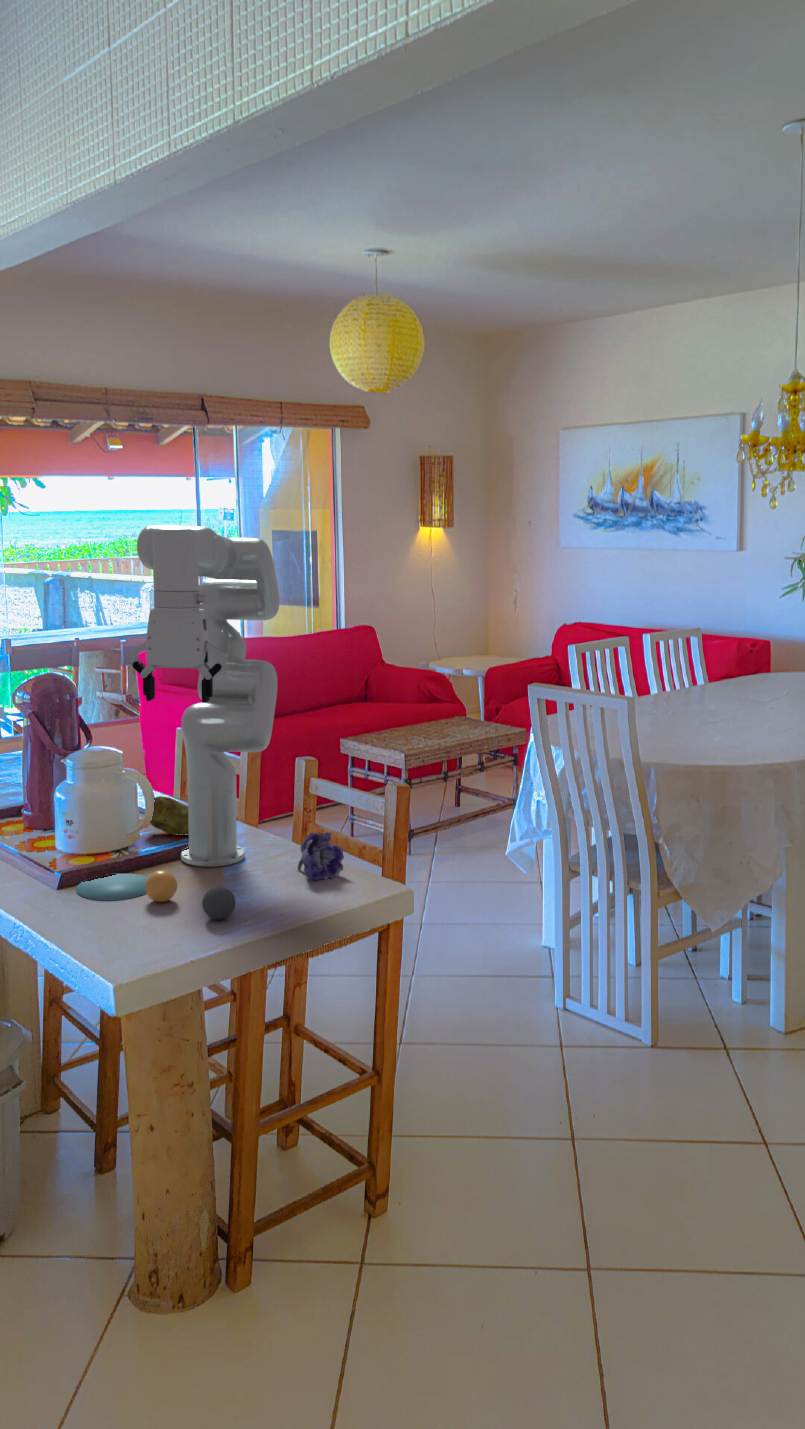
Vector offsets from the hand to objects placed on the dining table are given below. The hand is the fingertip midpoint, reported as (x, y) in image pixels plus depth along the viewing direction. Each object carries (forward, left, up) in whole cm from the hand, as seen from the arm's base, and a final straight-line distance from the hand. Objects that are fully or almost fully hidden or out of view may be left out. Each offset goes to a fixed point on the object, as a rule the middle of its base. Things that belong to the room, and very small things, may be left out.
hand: (178, 700), depth 184 cm
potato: (-39, -13, -37) cm, 55 cm away
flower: (-17, +21, -37) cm, 46 cm away
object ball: (+1, -4, -34) cm, 34 cm away
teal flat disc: (-5, -14, -36) cm, 39 cm away
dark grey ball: (+8, +8, -34) cm, 35 cm away
